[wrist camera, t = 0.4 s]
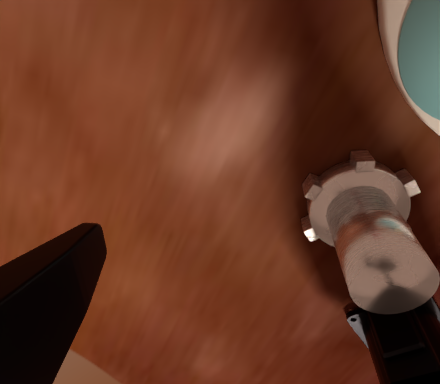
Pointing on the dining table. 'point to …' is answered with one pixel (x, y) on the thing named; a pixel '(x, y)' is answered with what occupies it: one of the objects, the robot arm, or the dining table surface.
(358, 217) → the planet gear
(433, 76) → the carrier plate
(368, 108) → the dining table surface
